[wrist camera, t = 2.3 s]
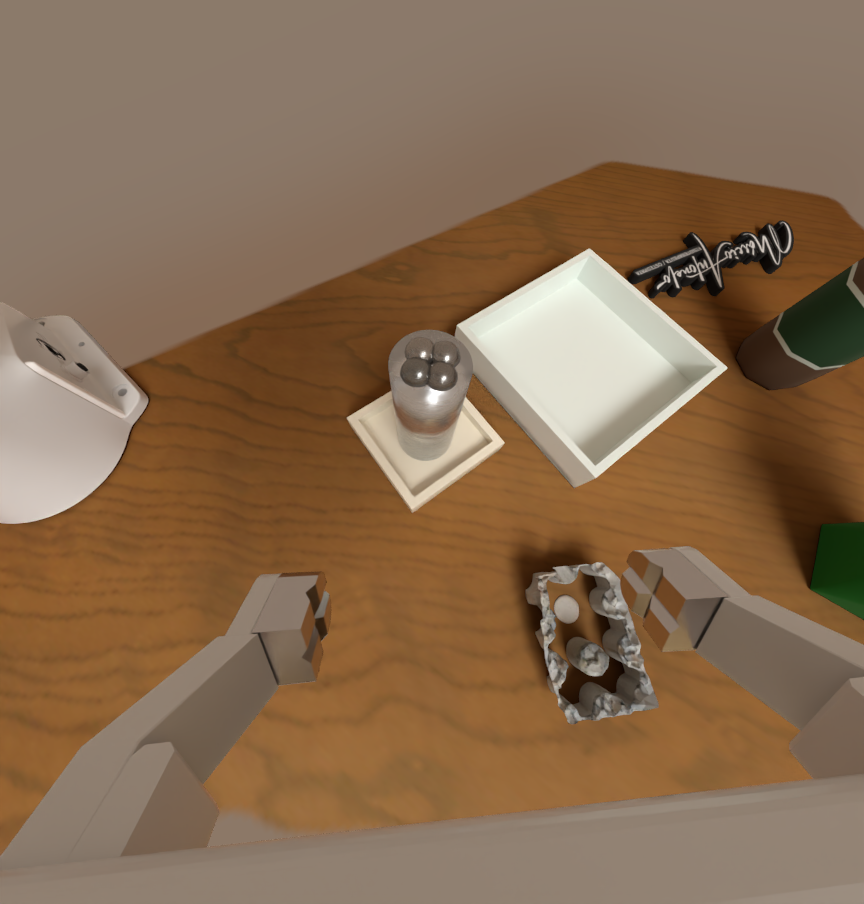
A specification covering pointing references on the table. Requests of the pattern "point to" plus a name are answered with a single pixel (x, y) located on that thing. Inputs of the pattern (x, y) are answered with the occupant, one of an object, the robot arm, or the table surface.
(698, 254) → the nameplate
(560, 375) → the bin
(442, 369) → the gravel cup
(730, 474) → the table surface
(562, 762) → the table surface
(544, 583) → the egg carton
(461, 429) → the tray
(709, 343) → the table surface
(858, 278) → the beer bottle
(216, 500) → the table surface
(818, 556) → the milk carton
